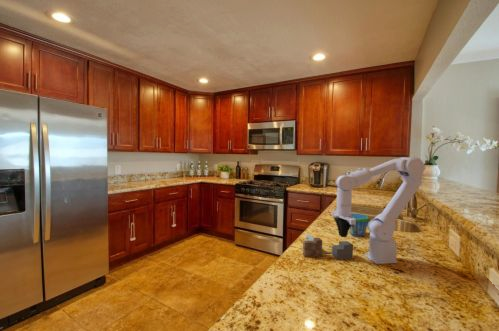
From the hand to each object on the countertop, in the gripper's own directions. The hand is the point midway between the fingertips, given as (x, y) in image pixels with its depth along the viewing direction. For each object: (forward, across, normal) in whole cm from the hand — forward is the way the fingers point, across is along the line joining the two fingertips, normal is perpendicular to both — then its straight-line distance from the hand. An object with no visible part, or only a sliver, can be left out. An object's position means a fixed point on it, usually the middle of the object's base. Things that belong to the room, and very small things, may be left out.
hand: (342, 236), depth 94 cm
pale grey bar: (+9, -11, -9) cm, 16 cm away
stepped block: (+9, 0, 0) cm, 9 cm away
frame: (+9, -3, -6) cm, 11 cm away
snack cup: (+9, -24, +22) cm, 34 cm away
